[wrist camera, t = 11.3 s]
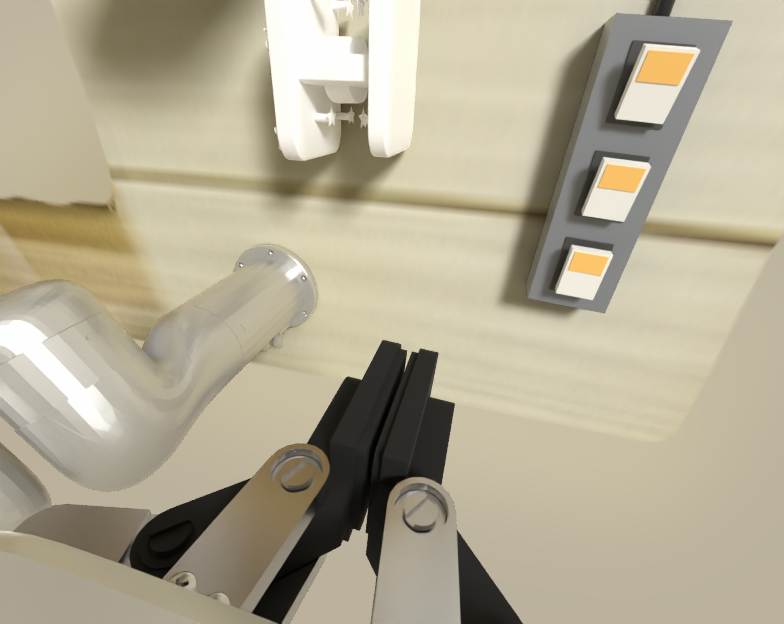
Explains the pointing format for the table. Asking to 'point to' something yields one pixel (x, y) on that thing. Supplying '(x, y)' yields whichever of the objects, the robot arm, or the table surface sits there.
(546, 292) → the power strip
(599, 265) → the plate
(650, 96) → the near rocker
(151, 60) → the table surface
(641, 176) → the middle rocker
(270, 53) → the cable organizer
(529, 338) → the table surface
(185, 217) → the table surface
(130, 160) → the table surface
